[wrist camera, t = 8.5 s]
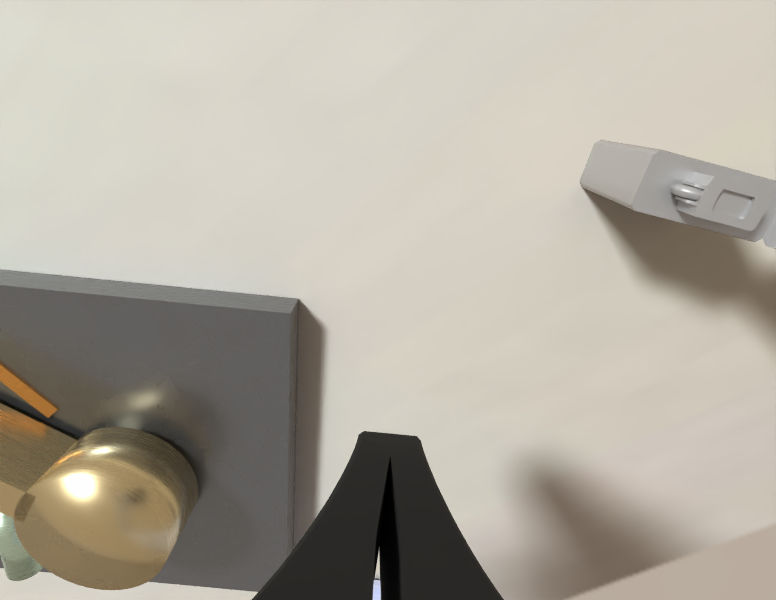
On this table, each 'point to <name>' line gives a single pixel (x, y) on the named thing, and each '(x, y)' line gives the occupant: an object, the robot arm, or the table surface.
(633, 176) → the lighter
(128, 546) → the gold elongated piece
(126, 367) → the base plate
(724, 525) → the table surface
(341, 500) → the robot arm
